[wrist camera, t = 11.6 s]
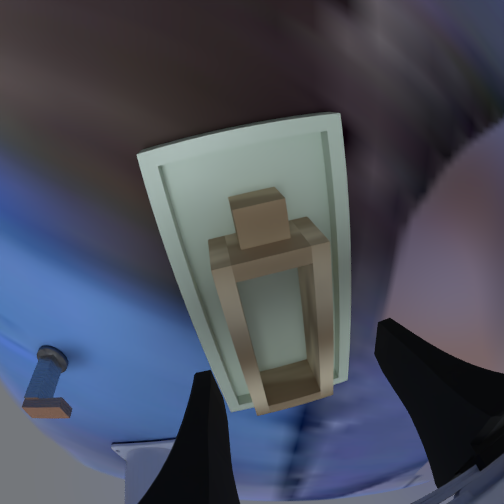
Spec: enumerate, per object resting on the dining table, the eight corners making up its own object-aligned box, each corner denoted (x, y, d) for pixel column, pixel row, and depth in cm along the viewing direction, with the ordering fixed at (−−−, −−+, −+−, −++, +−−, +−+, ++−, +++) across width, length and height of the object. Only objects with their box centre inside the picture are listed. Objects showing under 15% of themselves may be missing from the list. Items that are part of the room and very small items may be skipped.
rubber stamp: (90, 365, 20) (76, 424, 15) (49, 370, 19) (32, 423, 15) (73, 341, 18) (52, 400, 14) (32, 347, 18) (10, 400, 13)
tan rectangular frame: (318, 363, 22) (332, 394, 19) (249, 381, 22) (257, 415, 19) (302, 180, 15) (326, 199, 13) (198, 204, 15) (199, 228, 12)
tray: (341, 367, 24) (347, 380, 23) (228, 397, 23) (231, 412, 22) (327, 111, 15) (340, 113, 13) (142, 149, 14) (136, 154, 13)
